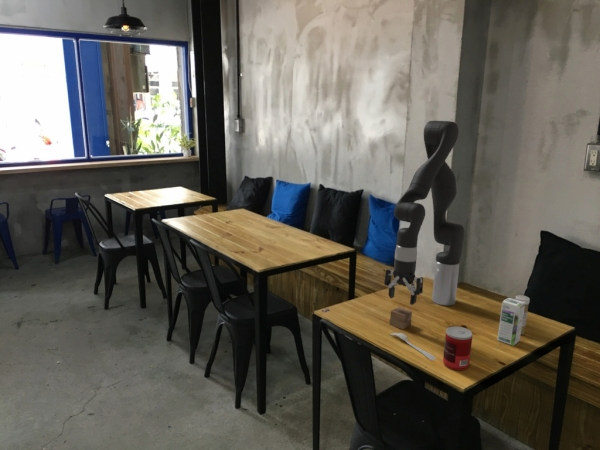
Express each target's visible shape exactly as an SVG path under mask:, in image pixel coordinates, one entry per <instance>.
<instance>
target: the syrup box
mask: <svg viewBox="0 0 600 450" xmlns="http://www.w3.org/2000/svg"><path fill="white" fill-rule="evenodd" d="M501 304H502V305H501V309H500V316H499V317H500V318H499V326H498V333H497V342H498V341H499V342H501V343H504V344H507V345H510V346H512V347H514V346H516V344H517V343H518V342H520V339H521V335H522V334H521V328H522V322H523V315H524V308H525V302H522V301H518V300H515V298H511V297H508V298H506V299H504V300H503V301H502V302H501Z"/></svg>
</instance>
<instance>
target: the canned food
mask: <svg viewBox="0 0 600 450" xmlns="http://www.w3.org/2000/svg"><path fill="white" fill-rule="evenodd" d="M472 342H473V332H472V331H471V330H470V329H468V328H466V327H463V326H449V327H447V328H446V331H445V339H444V347H443V348H444V349H443V355H442V362H443V364H444V366H445V367H447V368H448V369H450V370H453V371H464V370H467V369H468V368H469V365H470V359H471V352H472V351H471V350H472Z"/></svg>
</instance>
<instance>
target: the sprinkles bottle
mask: <svg viewBox="0 0 600 450" xmlns="http://www.w3.org/2000/svg"><path fill="white" fill-rule="evenodd" d="M514 299H515V300H518V301H522V302H525V308H524V315H523V322H522V328H521V335H524V334H525V329H526V324H527V318H528V317H527V316H528V313H529V312H528V309H529V304H530V302H531V301H530V300H531V299H530V297H528V296H526V295H523V294H519V295H515V298H514Z"/></svg>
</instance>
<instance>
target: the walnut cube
mask: <svg viewBox="0 0 600 450" xmlns="http://www.w3.org/2000/svg"><path fill="white" fill-rule="evenodd" d="M412 315H413V311H412V310H410V309H406V308H404V307H401V306H398V307H396V308H393V309H392V310H390V318H389V319H390V321H389V325H390V326H392V327H395V328H398V329H401V330H405V329H407V328H408V327H410V326H411V325H412V319H413V318H412Z"/></svg>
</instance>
